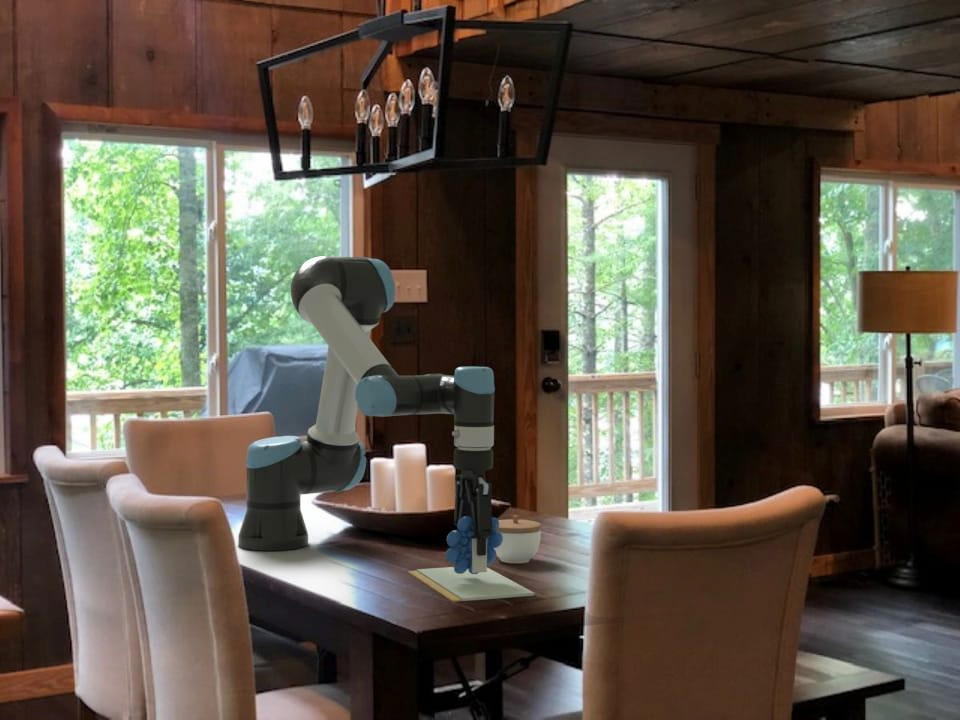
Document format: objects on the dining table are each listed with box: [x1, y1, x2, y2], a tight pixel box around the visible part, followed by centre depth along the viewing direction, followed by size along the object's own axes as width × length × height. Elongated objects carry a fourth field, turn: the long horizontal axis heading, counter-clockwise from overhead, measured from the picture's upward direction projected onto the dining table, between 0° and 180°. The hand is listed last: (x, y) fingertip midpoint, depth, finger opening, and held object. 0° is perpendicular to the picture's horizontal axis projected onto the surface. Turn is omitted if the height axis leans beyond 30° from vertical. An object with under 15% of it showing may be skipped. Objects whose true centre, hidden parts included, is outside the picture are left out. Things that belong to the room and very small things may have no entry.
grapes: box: [444, 516, 503, 574], centre depth 238 cm, size 12×7×12 cm, turn 112°
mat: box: [416, 566, 535, 602], centre depth 238 cm, size 26×14×1 cm, turn 21°
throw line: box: [407, 570, 462, 603], centre depth 235 cm, size 26×2×1 cm, turn 21°
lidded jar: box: [493, 514, 542, 564], centre depth 260 cm, size 11×11×9 cm
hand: (472, 568), depth 238 cm, fingers closed on grapes, 7 cm apart
